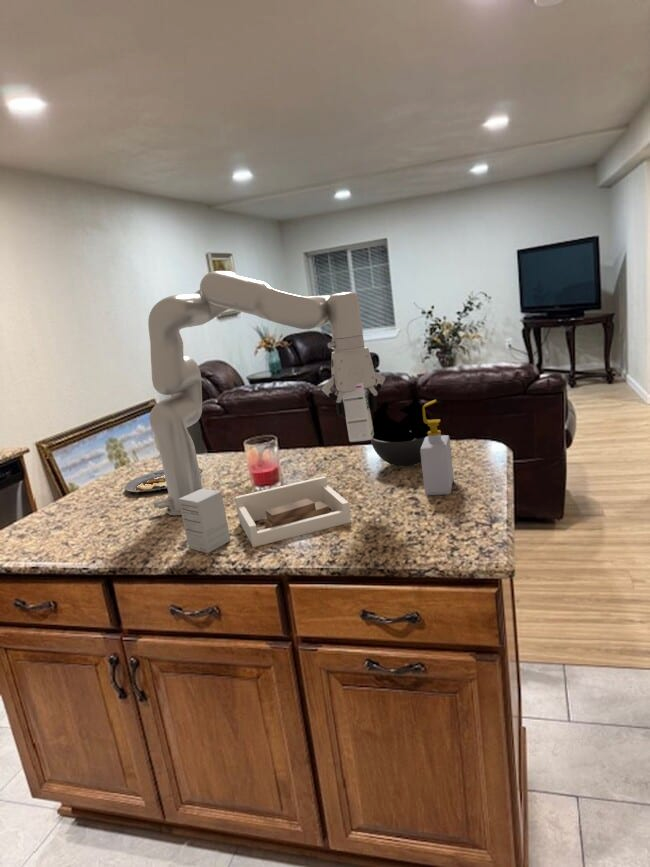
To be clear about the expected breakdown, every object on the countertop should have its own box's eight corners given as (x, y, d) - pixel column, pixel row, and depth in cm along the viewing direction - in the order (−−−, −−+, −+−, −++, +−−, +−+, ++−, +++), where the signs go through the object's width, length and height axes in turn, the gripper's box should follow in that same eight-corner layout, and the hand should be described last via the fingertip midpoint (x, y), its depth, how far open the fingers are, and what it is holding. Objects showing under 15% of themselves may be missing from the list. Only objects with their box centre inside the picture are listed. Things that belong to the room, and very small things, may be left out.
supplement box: (211, 536, 147) (202, 487, 144) (231, 541, 142) (222, 490, 139) (187, 548, 141) (177, 498, 139) (207, 553, 137) (197, 501, 134)
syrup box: (371, 440, 148) (363, 382, 146) (348, 442, 150) (340, 385, 147) (374, 434, 154) (366, 379, 151) (351, 437, 155) (343, 382, 152)
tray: (253, 547, 137) (248, 518, 135) (239, 522, 154) (235, 496, 152) (351, 522, 143) (347, 494, 142) (328, 501, 160) (324, 476, 158)
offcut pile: (265, 542, 139) (261, 519, 138) (257, 535, 144) (253, 513, 143) (334, 521, 146) (330, 498, 145) (324, 515, 151) (320, 493, 150)
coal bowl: (452, 466, 174) (446, 403, 170) (388, 480, 169) (380, 416, 165) (423, 451, 193) (417, 394, 189) (365, 464, 188) (357, 406, 184)
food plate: (209, 468, 211) (207, 458, 210) (194, 490, 188) (191, 479, 187) (140, 479, 212) (137, 469, 211) (117, 502, 189) (114, 491, 189)
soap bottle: (451, 495, 152) (442, 404, 146) (424, 496, 153) (415, 406, 148) (453, 479, 163) (445, 394, 158) (429, 480, 165) (420, 397, 160)
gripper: (319, 350, 141) (329, 423, 145) (387, 339, 146) (395, 409, 149) (310, 349, 148) (320, 418, 152) (375, 338, 153) (383, 405, 156)
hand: (357, 413), depth 151 cm, fingers closed on syrup box, 7 cm apart
